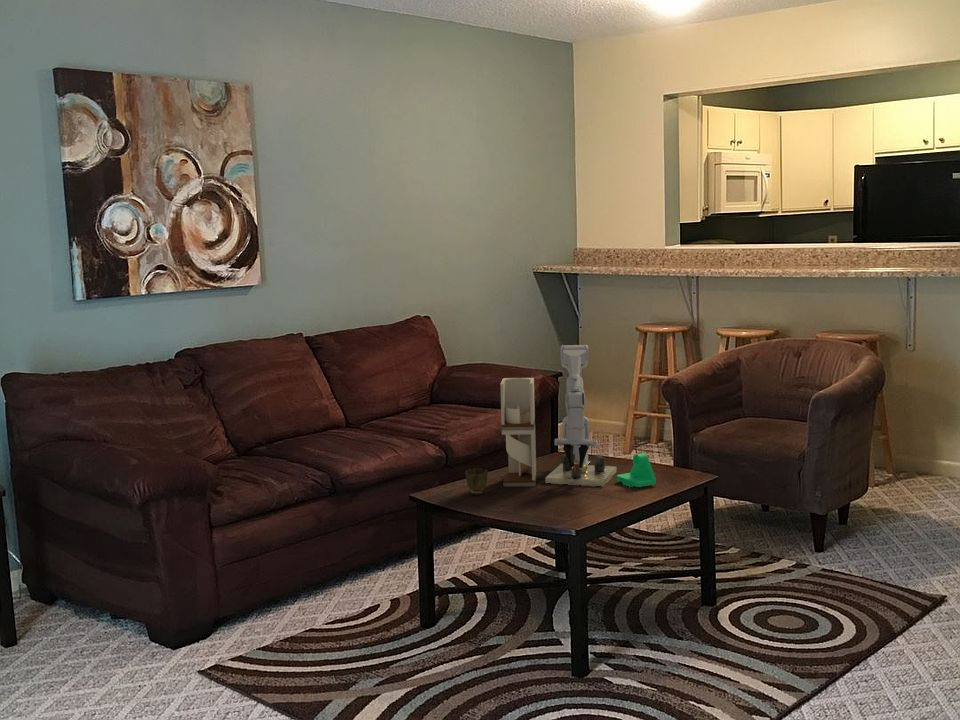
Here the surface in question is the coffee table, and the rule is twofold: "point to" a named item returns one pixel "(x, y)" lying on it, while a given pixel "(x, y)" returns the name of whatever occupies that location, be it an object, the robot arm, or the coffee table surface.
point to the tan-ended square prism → (576, 470)
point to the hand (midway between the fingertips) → (576, 466)
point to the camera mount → (639, 473)
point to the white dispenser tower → (519, 430)
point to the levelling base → (590, 473)
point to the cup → (476, 480)
